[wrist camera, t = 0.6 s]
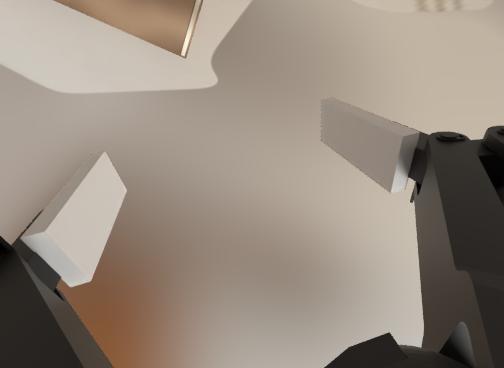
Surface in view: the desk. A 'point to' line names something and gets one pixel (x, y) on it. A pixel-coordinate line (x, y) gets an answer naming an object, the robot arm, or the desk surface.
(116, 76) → the desk surface
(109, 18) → the board
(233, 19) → the desk surface
